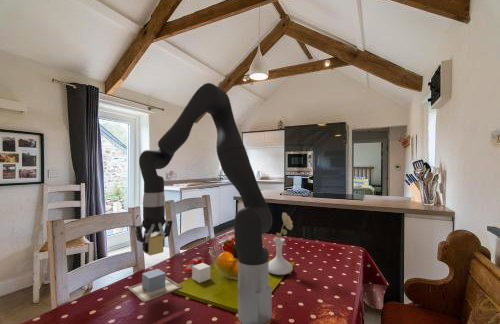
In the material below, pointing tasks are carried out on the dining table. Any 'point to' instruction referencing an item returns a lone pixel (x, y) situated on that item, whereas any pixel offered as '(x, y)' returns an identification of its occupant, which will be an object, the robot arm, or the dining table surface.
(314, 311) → the dining table surface
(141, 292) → the build plate
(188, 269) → the race car
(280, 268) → the flower in vase
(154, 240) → the ochre brick
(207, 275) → the cream brick
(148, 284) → the base brick
